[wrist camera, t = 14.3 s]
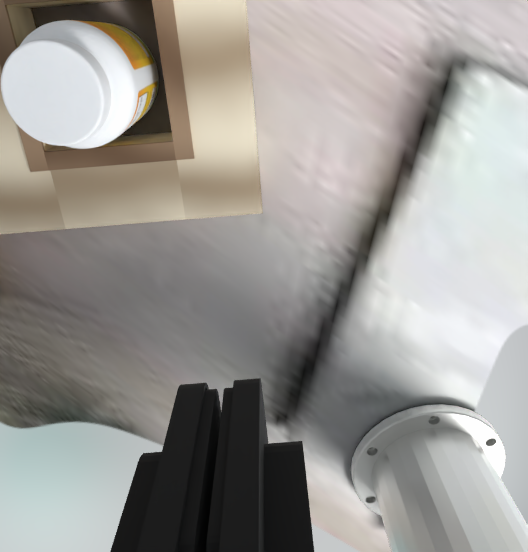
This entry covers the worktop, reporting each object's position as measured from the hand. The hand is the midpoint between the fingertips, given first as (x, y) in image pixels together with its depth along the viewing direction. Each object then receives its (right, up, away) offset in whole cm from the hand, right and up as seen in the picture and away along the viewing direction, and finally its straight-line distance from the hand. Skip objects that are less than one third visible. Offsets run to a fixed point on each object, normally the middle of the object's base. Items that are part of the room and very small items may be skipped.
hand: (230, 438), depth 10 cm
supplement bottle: (-8, +15, +18) cm, 25 cm away
